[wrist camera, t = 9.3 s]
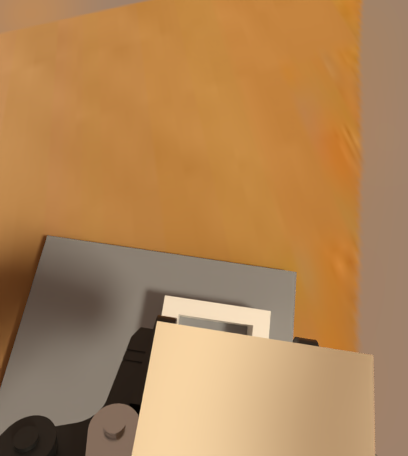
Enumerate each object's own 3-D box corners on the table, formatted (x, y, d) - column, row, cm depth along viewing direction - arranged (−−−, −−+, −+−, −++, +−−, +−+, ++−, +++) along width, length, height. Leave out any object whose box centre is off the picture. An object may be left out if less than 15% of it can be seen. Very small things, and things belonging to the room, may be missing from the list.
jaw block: (162, 433, 15) (104, 602, 5) (179, 331, 16) (157, 320, 7) (259, 449, 15) (378, 652, 5) (267, 345, 16) (373, 355, 7)
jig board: (-6, 436, 28) (-41, 454, 24) (53, 239, 34) (33, 225, 30) (280, 481, 28) (296, 507, 24) (292, 274, 34) (306, 266, 29)
